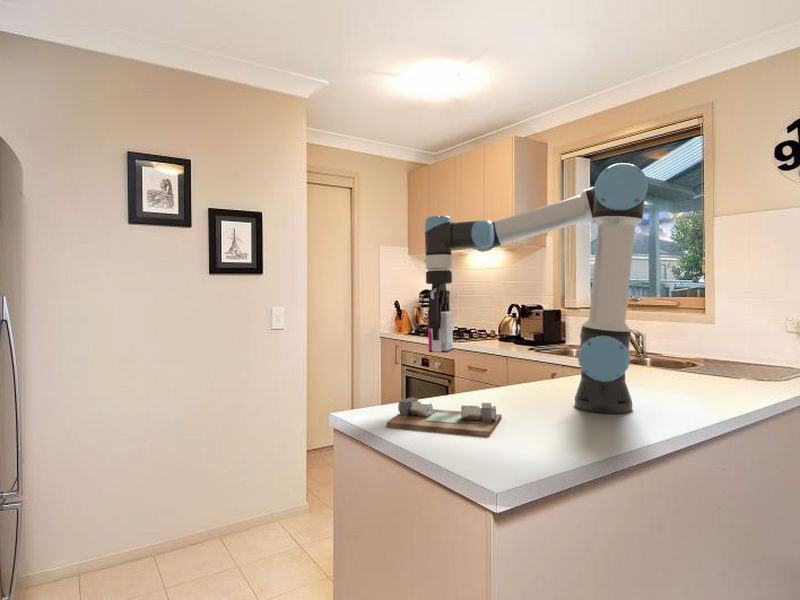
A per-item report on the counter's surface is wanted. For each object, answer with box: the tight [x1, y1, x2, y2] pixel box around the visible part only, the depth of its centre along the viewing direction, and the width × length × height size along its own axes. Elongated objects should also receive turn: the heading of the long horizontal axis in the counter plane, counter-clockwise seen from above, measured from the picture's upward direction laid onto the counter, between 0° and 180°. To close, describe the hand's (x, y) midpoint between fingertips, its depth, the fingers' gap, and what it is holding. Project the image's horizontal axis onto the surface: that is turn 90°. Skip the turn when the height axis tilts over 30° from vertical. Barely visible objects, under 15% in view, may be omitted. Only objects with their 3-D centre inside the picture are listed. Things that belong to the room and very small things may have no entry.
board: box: [386, 408, 503, 438], centre depth 128 cm, size 26×16×1 cm, turn 68°
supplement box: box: [427, 311, 454, 354], centre depth 144 cm, size 6×6×12 cm
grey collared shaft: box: [460, 402, 497, 423], centre depth 125 cm, size 9×5×4 cm, turn 80°
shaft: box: [397, 397, 434, 417], centre depth 131 cm, size 9×5×4 cm, turn 57°
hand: (440, 349), depth 144 cm, fingers closed on supplement box, 6 cm apart
